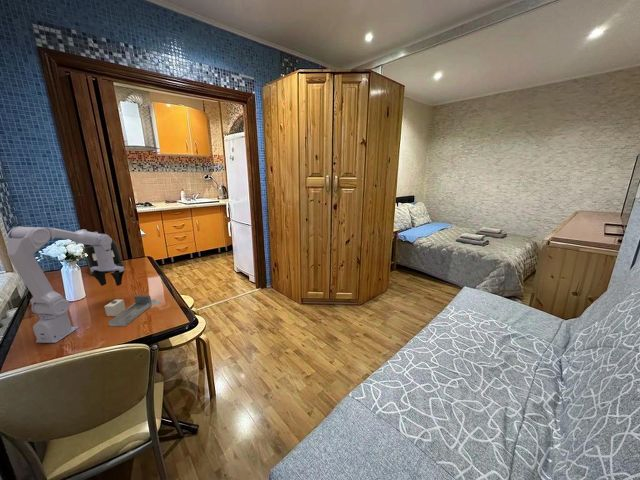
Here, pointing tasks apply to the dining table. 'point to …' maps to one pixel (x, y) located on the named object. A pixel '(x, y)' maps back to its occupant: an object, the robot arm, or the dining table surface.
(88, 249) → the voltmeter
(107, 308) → the module
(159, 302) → the mounting bracket
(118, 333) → the dining table surface
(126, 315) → the rail
